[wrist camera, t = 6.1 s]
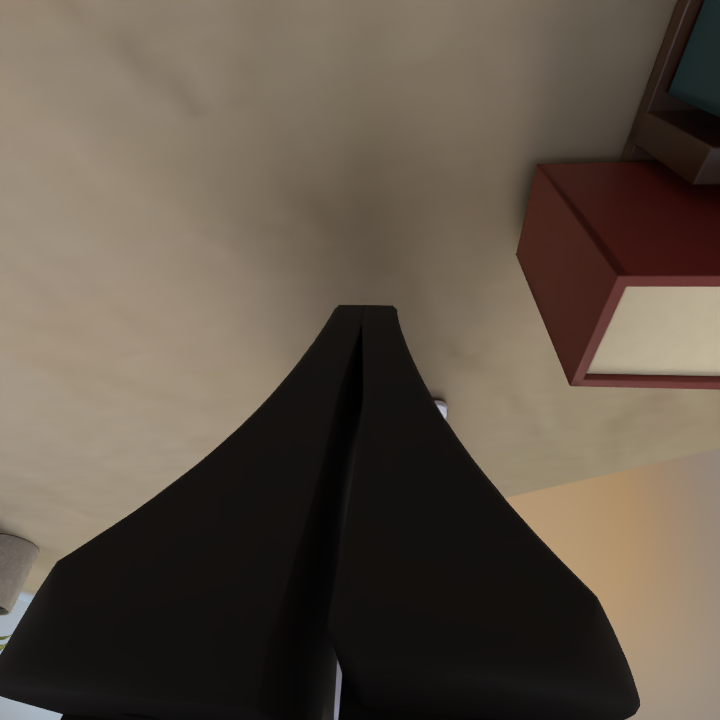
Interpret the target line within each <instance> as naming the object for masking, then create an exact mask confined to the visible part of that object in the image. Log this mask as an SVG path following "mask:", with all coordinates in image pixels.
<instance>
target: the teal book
mask: <svg viewBox="0 0 720 720" xmlns="http://www.w3.org/2000/svg"><path fill="white" fill-rule="evenodd" d="M668 95H670V96H672V97H675V98H677V99H679V100H681V101H684V102H686V103H688V104H691V105H693V106H695V107H697V108H700V109H702V110H704V111H707V112H709V113H711V114H713V115H716V116H718V117H720V0H705V1H704V3H703V6H702V8H701V11H700V13H699V16H698V18H697V21H696V23H695V26H694V29H693V31H692V34H691V36H690V39H689V41H688V44H687V46H686V49H685V51H684V54H683V56H682V59H681V61H680V64H679V67H678V69H677V72H676V74H675V77H674V79H673V82H672V84H671V87H670V89H669V92H668Z"/></svg>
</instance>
